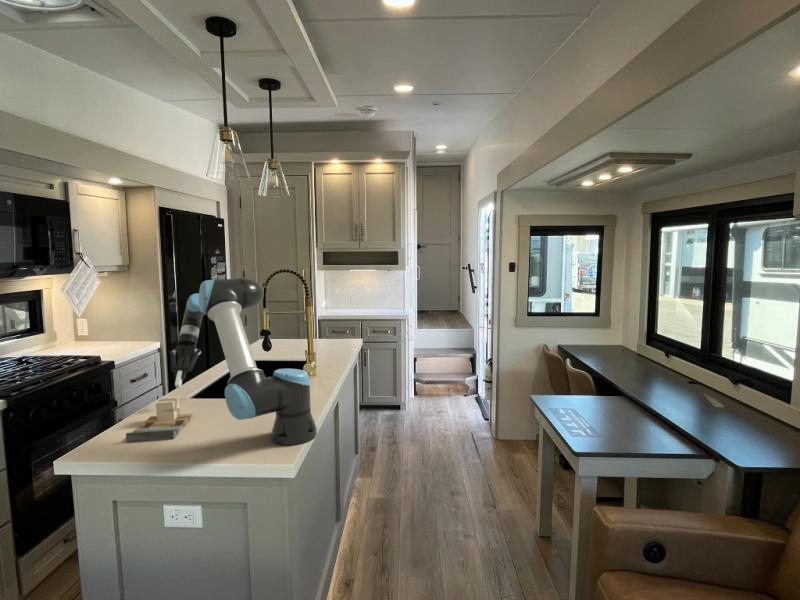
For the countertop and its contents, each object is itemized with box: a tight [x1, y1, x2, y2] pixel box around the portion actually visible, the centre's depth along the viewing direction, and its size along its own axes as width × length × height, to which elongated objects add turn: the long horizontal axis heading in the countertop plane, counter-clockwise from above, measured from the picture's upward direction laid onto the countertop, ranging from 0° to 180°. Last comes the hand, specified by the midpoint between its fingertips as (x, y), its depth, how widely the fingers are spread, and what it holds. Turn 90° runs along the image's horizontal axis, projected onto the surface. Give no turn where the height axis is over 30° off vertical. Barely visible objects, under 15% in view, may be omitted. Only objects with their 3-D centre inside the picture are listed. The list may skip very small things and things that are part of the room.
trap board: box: [125, 413, 194, 443], centre depth 161 cm, size 20×15×3 cm
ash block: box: [155, 396, 181, 421], centre depth 168 cm, size 6×6×7 cm
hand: (177, 386), depth 180 cm, fingers closed
